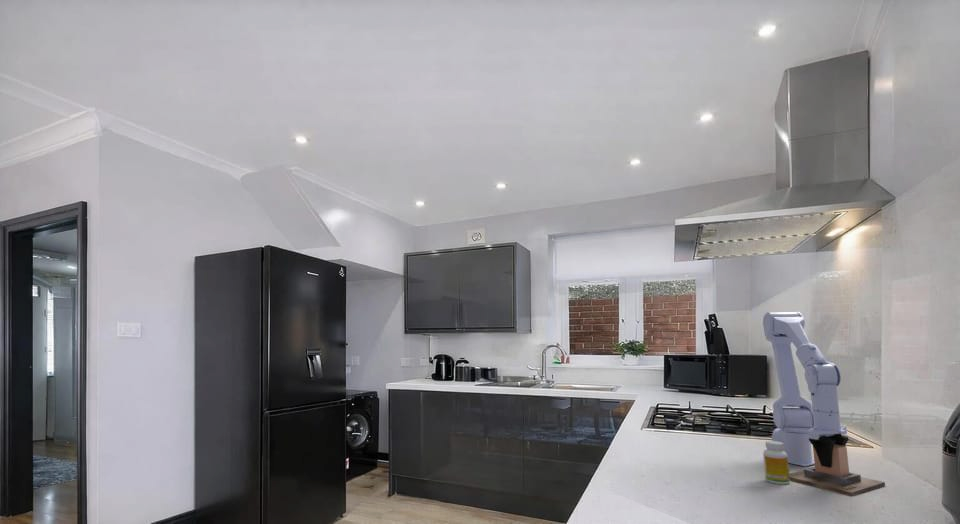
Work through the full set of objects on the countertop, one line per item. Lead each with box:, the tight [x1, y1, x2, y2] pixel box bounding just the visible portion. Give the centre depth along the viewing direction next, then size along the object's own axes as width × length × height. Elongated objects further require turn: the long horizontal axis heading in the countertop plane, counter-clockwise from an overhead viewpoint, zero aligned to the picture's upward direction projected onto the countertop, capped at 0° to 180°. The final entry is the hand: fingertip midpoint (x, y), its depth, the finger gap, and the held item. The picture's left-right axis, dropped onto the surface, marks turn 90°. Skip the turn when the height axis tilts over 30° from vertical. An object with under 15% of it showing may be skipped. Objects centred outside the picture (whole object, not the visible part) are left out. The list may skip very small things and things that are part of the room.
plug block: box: [812, 444, 850, 477], centre depth 126 cm, size 6×4×7 cm, turn 29°
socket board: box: [789, 466, 886, 497], centre depth 126 cm, size 16×16×2 cm
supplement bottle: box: [762, 440, 791, 485], centre depth 127 cm, size 5×5×10 cm
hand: (831, 465), depth 126 cm, fingers closed on plug block, 4 cm apart
